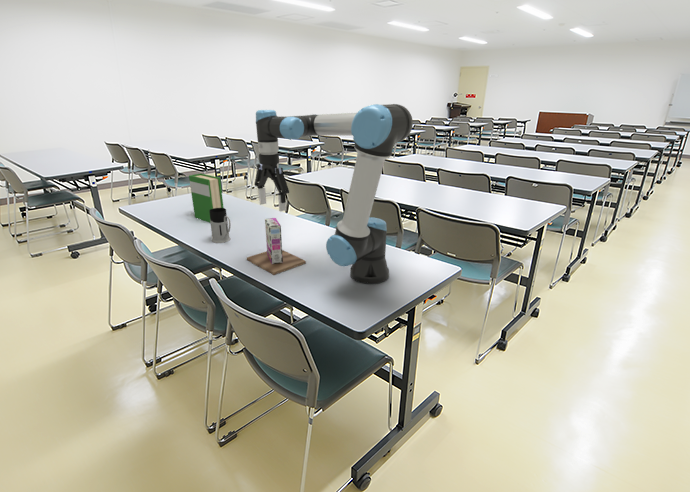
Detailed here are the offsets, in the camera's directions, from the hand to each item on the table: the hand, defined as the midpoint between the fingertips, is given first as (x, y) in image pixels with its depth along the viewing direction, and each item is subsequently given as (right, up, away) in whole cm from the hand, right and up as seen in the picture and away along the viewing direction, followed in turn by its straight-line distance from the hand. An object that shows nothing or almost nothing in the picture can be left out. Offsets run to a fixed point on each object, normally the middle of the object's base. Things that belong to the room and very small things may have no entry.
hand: (272, 207), depth 155 cm
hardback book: (-47, -1, +63) cm, 78 cm away
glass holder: (-29, -13, +31) cm, 44 cm away
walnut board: (0, -22, +9) cm, 24 cm away
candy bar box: (-1, -21, +9) cm, 23 cm away
